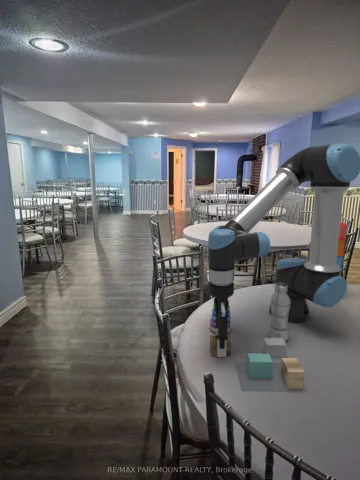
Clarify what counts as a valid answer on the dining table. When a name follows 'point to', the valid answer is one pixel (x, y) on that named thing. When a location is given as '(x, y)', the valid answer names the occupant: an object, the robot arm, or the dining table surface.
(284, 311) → the plastic bottle
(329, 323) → the dining table surface
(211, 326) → the stacking toy
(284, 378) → the oak block
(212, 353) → the walnut block
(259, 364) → the teal block
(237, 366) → the slate board
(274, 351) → the grey block
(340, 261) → the stacking cups
